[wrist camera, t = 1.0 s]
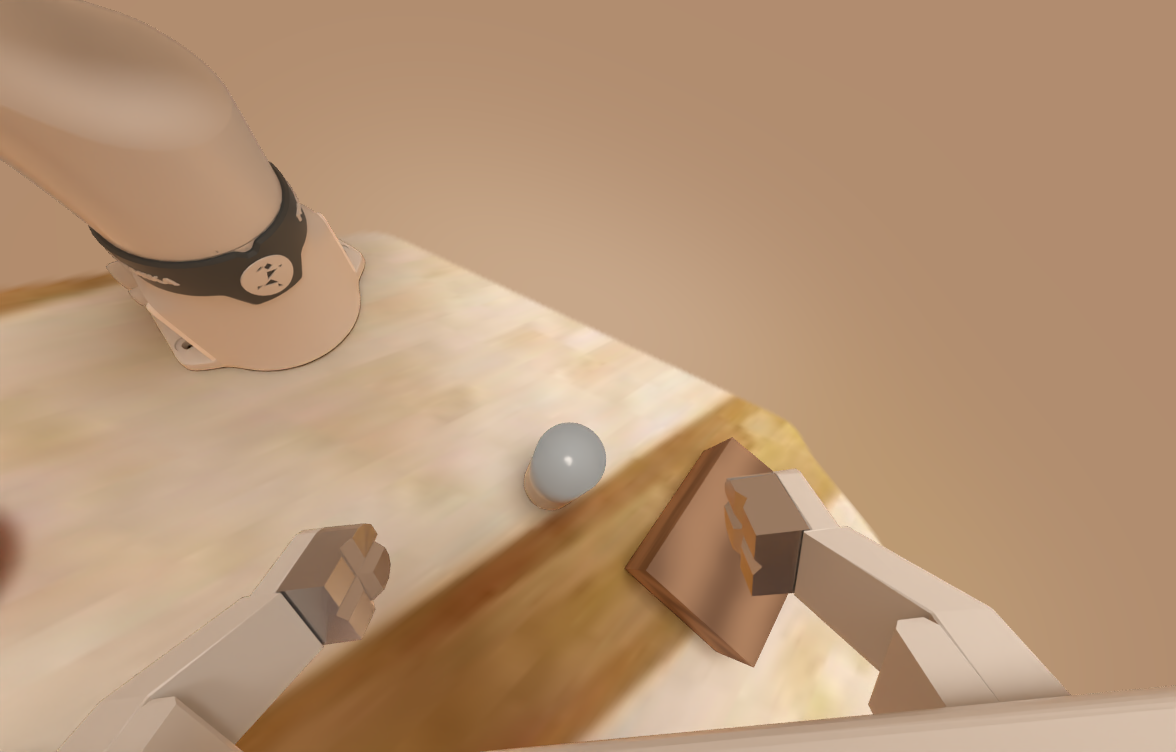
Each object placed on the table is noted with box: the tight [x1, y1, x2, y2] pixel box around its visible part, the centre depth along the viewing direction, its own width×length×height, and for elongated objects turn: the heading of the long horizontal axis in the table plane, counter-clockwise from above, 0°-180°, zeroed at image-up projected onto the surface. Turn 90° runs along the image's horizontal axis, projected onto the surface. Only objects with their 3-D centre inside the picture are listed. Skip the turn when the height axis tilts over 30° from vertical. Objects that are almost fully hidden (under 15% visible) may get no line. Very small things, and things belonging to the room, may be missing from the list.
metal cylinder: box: [524, 423, 606, 510], centre depth 36 cm, size 5×5×11 cm
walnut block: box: [625, 438, 788, 667], centre depth 39 cm, size 11×15×6 cm
